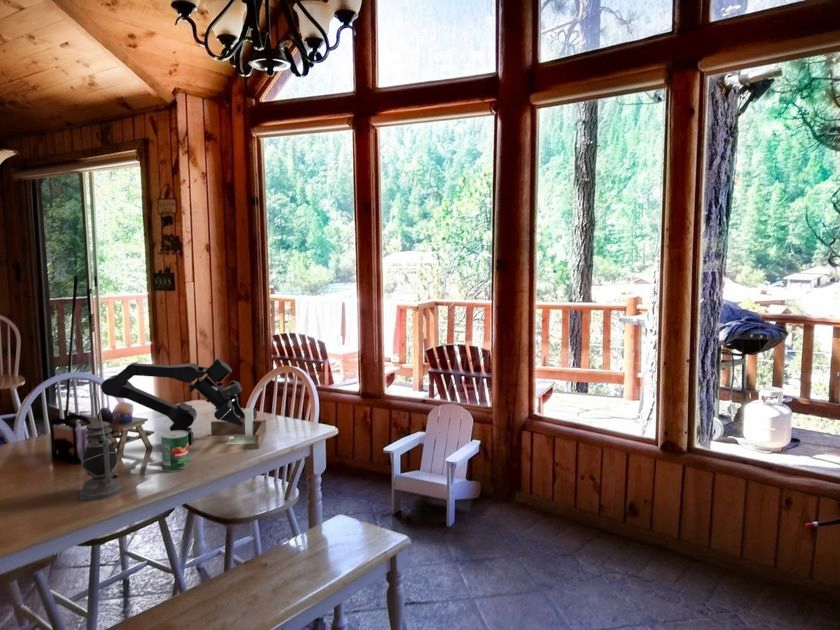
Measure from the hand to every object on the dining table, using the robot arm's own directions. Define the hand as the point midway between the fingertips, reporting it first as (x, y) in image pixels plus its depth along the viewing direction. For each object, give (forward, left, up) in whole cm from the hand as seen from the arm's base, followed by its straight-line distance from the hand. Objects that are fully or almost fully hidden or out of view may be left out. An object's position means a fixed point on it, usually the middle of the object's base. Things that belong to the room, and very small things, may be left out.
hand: (243, 420), depth 204 cm
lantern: (-32, -40, -8) cm, 52 cm away
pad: (-1, 0, -8) cm, 8 cm away
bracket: (0, 0, -7) cm, 7 cm away
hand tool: (-5, +24, -9) cm, 26 cm away
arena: (-3, -2, -8) cm, 9 cm away
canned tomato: (-17, -22, -8) cm, 29 cm away
